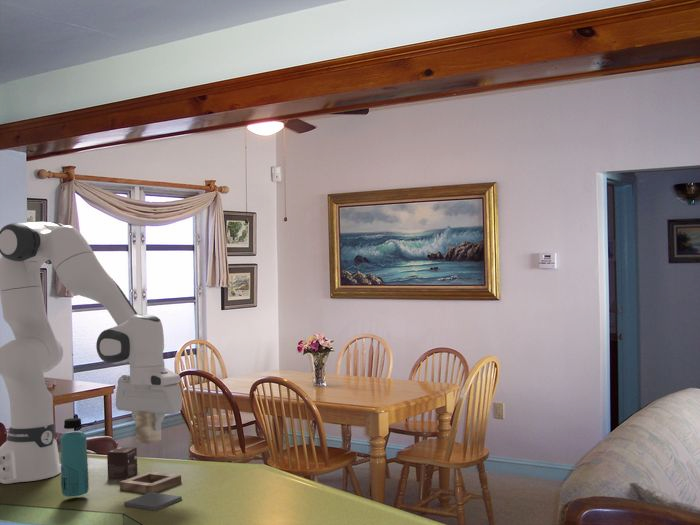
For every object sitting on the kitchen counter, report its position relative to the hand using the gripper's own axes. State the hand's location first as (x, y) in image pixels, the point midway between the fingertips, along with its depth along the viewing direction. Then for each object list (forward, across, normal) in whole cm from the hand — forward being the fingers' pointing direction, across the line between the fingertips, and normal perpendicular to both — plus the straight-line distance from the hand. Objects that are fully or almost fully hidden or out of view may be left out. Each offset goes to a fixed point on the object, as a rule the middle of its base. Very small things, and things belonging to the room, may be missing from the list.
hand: (148, 429), depth 198 cm
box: (+15, -15, +5) cm, 22 cm away
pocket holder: (+15, 0, 0) cm, 15 cm away
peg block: (+3, 0, 0) cm, 3 cm away
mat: (+15, +11, -11) cm, 22 cm away
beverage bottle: (+15, -10, -16) cm, 24 cm away
